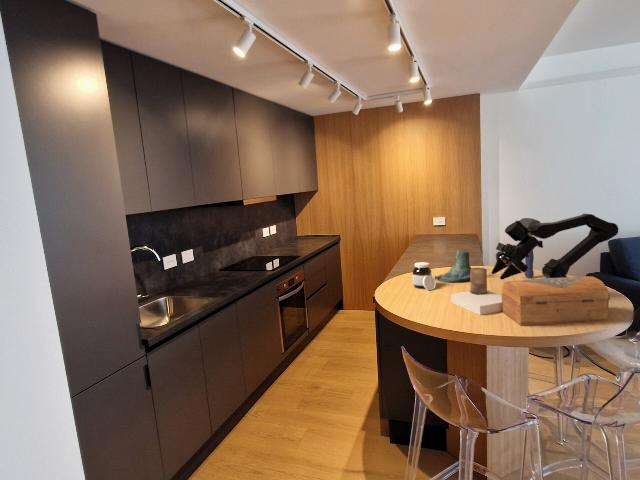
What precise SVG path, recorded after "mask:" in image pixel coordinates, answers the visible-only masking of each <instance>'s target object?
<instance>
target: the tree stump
mask: <svg viewBox="0 0 640 480" xmlns="http://www.w3.org/2000/svg"><path fill="white" fill-rule="evenodd" d="M471 268H472V267H471V265H470V252H469V251H466V250H463V249H460V248H459V249H456V255H455V257H454V262H453V265H451V267H450V269H449V270H448V271H447V272H445V273H444V274H439V275H434V279H435V281H437V282H441V283H446V284H447V283H448V284H450V283H451V284H454V283H455V284H456V283H464V282H468V281H470V269H471Z"/></svg>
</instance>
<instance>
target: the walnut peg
mask: <svg viewBox="0 0 640 480" xmlns="http://www.w3.org/2000/svg"><path fill="white" fill-rule="evenodd" d="M487 272H488V269H487V268H485V267H473V268H472V267H471V269H470V280H469V281H470V283H469V284H470V290H469V291H470V292H471V293H472V294H476V295H484V294H487V291H488V283H487V282H488V277H487V276H488V275H487Z"/></svg>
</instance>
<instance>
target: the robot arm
mask: <svg viewBox="0 0 640 480" xmlns="http://www.w3.org/2000/svg"><path fill="white" fill-rule="evenodd" d="M583 226H587V227H588V228H589V229H590V230H589V232H588V234H587V236H586V237H584V238H583V239H582V240H581V241H579V243H577V244H576V245H575V246H573V247H572V248H571V249H570V250H569V251H567V252H566V253H565V254H564V255H563V256H561V257H560V258H559V259H554V258H551V259H549V260H548V261H547V262H546V263H544V264H543V265H544V266H543V267H542V269H541V272H542V273H541V274H542V275H543V277H545V278H561V277H568V276H567V274H568V273H569V270H570V268H571V267H572V266H573V265H574V264H575V263H577V262H578V261H579V260H581V258H583V257H585V255H587V253H589V252H590V251H592V250H593V249H594V248H595V247H596V246H598V244H601V243H603V242H606V241H609V240H611V239H613V238H614V237H615V236H617V235H618V234H619V226H618V224H617V223H614V222H610V221H609V222H608V221H606V220H605V219H602V218H599V217H598V216H596V215H594V214H591V213H582V214H580V215H577V216H573V217H569V218H565V219H561V220H556V221H554V222H552V221H551V222H541V223H537V224H534V225H533V226H532V227H528V228H526V227H525V226H523V225H522V223H521V222H520V220H515V221H514V222H511V224H509V225H508V226H507V227H506V228H505V229H504V233H506V235H508V236H509V237H510V238H511V239H512V240H513V241H514V242H518V243H517V244H511V243H506V244H504V243H501V242H498V243H497V246H496V248H495V250H496V251H497V252H496V253H495V259H496V262H495V264H494V266H493V268H492V270H491V274H492V275H495V274H497V273H499V272H501V271H502V270H504V269H505V270H504V271H503V272H502V274H501V275H500V276H499V279H500V281H501V280H505V279H507V278H511V277H513V276H517V275H519V274H522V273H524V274H525V271H526V270H527V269H528V266H527V265H526V263H525V262H523V261H524V260H525V257H527V258H528V257H529V255H528V254H529V253H530V252H531V251H532V250H533V251H534V249H535V248H536V247H538V248H541V249H543V248H544V244H543V242H544V241H543V240H545V239H549V238H551V237H553V236H555V235H556V234H558V233H560V232H563V231H568V230H572V229H574V228H578V227H579V228H580V227H583ZM528 234H532V237H531V236H529V235H528ZM538 239H543V240H538Z"/></svg>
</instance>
